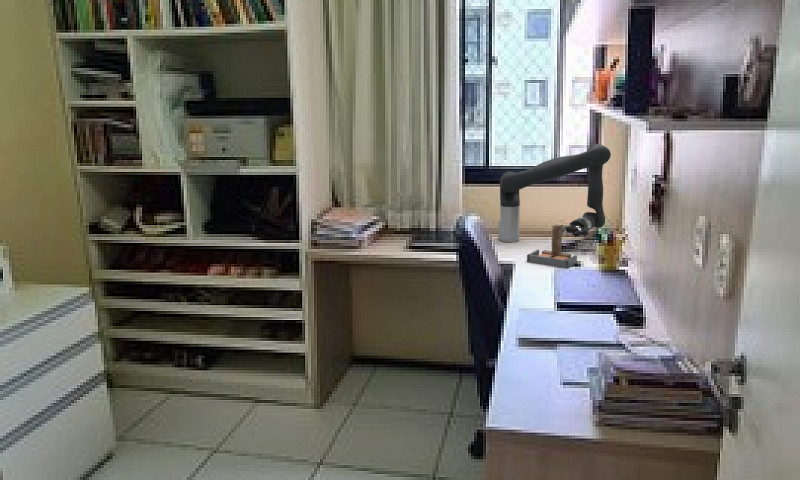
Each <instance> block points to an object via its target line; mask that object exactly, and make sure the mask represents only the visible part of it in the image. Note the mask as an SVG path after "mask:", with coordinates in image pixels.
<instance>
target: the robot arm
mask: <svg viewBox="0 0 800 480" xmlns="http://www.w3.org/2000/svg"><path fill="white" fill-rule="evenodd" d="M611 155H612V154H611V150H610V149H609V148H608V147H607V146H605V145H603V144H600V143H594V144H592V145H590V146H589V148H588V149H587V151H586V150H585V151H584V152H581V153H578V154H573V155H566V156H565V155H564V156H557V157H555V158H551V159H548V160H545V161H543V162H541V163H538V164H537V165H535V166H532V168H530V169H526V170H523V171H519V172H515V171H507V172H504V173H502V176H500V181H499V201H500V204H499V205H500V208H499V209H500V210H499V211H500V212H499V215H500V219H499V221H498V225H497V226H498V230H497V231H498V233H497V235H498V237H497V240H498V241H502V242H505V243H514V242H519V241H520V213H521V212H520V211H521V210H520V207H521V206H520V205H521V204H520V203H521V200H520V190H522V189H524V188H527V187H529V186H533V185H535V184H540V183H544V182H548V181H552V180H555V179H558V178H561V177H565V176H568V175H571V174H573V173H576V172H579V171H581V170H585V169H588V185H587V196H586V197H587V198H586V199H587V200H586V205H587V207H588V208H589V209H592V210H594V211H595V212H592V211H587V212H584V213H583V215H582V217H578V218H576V219H575V220H572V221H571V222H569V224H568V225H563V224H561V225H562V234H563V235H568V234H569V235H572V236H574V238H577V237H582V236H583V237H587V236H589V235H590V232H591V230H593V229H594V228H596V229H601V228H603V227H604V226H605V224H606V217H605V216H606V215H605V212H604V205H603V204H604V199H603V198H604V184H603V183H604V182H603V167H604V165H605V164H607V163H608V162H609V161H610V159H611V157H612V156H611Z"/></svg>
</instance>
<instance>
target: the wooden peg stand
mask: <svg viewBox="0 0 800 480" xmlns="http://www.w3.org/2000/svg"><path fill="white" fill-rule="evenodd" d="M562 225H563V224H554V225H552V228H551V229H552V234H551V236H552V237H551V241H552V242H551V250H547V249H544V250H542V251H541V254H549V255H553V258H554V257H556V256H562V257H568V259H569V258H571V257H572V253H569V252H567V253H566V252H562V239H563V233H562Z"/></svg>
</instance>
